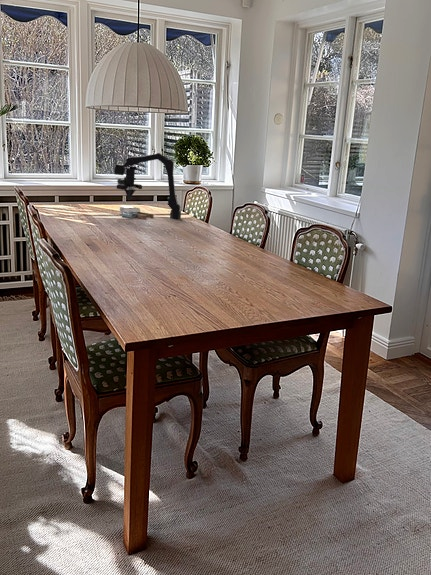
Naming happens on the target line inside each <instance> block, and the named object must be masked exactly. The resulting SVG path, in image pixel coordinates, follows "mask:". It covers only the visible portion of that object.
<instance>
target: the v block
mask: <svg viewBox="0 0 431 575" xmlns="http://www.w3.org/2000/svg"><path fill="white" fill-rule="evenodd" d="M121 214H122V215H121V217H122V218H128V219H131V220H132V219H138V218H137V214H134V213H129V212H127V213H121Z"/></svg>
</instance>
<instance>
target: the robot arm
mask: <svg viewBox="0 0 431 575" xmlns="http://www.w3.org/2000/svg"><path fill="white" fill-rule="evenodd" d="M156 160H158V161H159V162H160V163H162V164H163V165H164V167H165V171H166V174H167V182H168V183H167V184H168V191H169V192H168V193H169V196H168V197H167V198H166V199H167V200H166V201H167V205H168V207H169V208H170V212H169V218H170V219H172V220H181V219H182V218H181V217H182V210H181V207H182V206H180V204H179V202H178V198H177V194H176V189H175V179H174V167H175V162H174V160H173V159H172V158H167V157H166V156H165V155H163V154H162V153H160V152H158V153H157V152H156V153H152V154H149V155H142V156H129V157H127V158H126V160H125V163H124V164H119V163H116V164H115V166H114V169H113V170H114V171H113V172H114V175H116V176H117V175H118V176H124V175H125V176H124V177H123V179H122V178H117V181H116V182H117V184H116V189H117V190H122V191H124V192H125V195H126V199H127V200H128V201H129V200H131V198H132V197H133V195H134V193H135V192H136V191H137V189H139V190H142V189H143V185H142V184H139V183H135V181H136V180H137V179H136V177H135V172H136V171H138V170H139V169H138V167H137V165H138V164H142V163H145V162H150V161H156Z"/></svg>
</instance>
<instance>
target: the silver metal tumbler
mask: <svg viewBox="0 0 431 575" xmlns="http://www.w3.org/2000/svg"><path fill="white" fill-rule="evenodd" d="M119 212H120V214H122V213H127V212H130V213H136V214H140V212H141V208H139V207H135V206H129V205H123V204H122V205H120V208H119Z"/></svg>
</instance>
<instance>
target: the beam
mask: <svg viewBox="0 0 431 575" xmlns="http://www.w3.org/2000/svg"><path fill="white" fill-rule="evenodd" d="M129 213H130V212H129ZM134 214H136V213H134ZM120 215H121V216H122V213H120ZM136 219H142V220H148V219H154V213H149V212H143V211H140V214H137V218H136Z"/></svg>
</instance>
